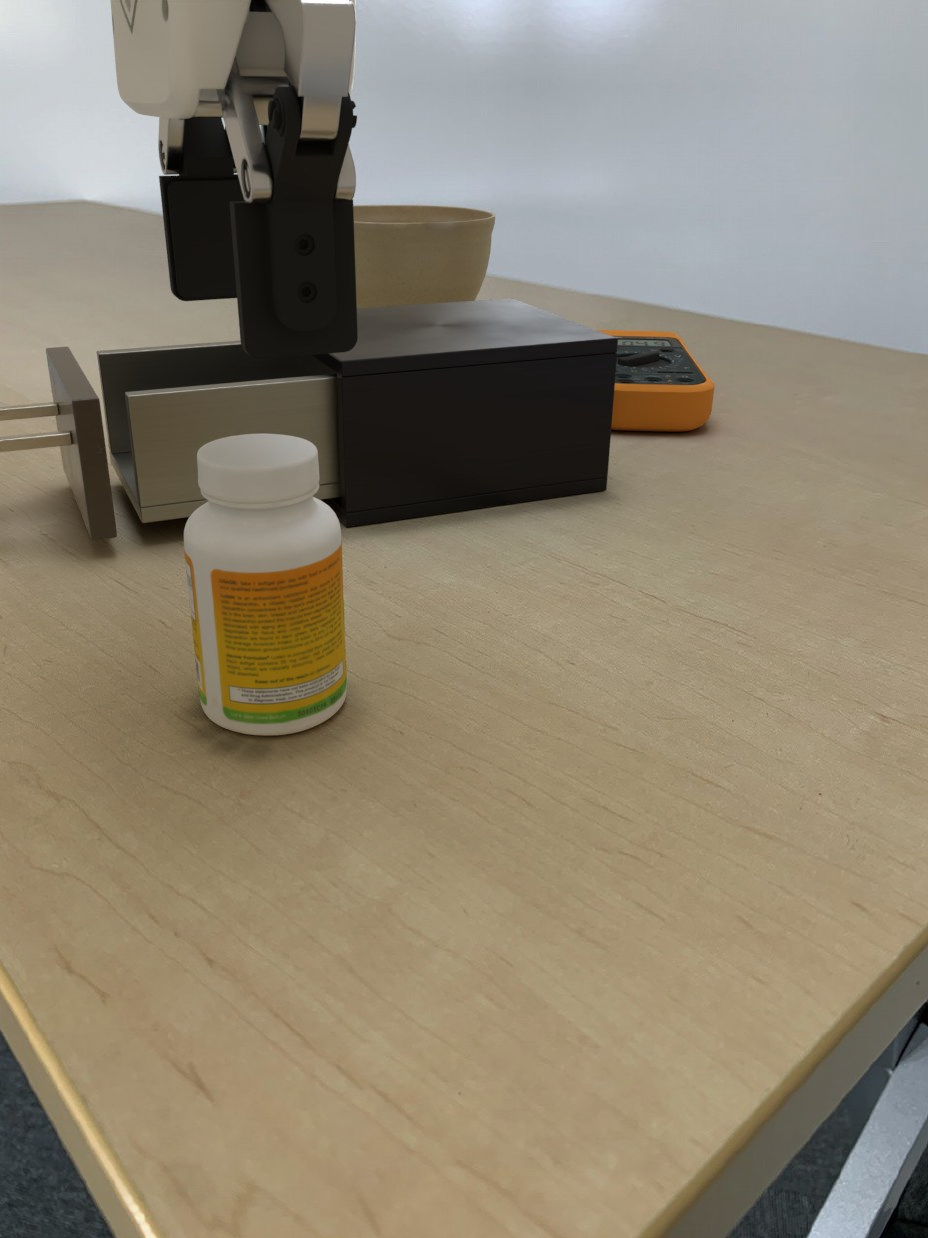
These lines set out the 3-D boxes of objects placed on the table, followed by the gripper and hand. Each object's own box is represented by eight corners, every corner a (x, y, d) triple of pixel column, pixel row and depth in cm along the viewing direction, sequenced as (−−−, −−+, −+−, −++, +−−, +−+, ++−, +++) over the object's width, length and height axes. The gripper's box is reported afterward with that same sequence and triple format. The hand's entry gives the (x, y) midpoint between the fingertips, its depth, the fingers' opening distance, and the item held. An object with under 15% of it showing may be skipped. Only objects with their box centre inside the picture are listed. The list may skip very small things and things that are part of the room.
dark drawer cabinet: (346, 527, 57) (341, 361, 53) (279, 457, 67) (270, 313, 63) (606, 490, 63) (618, 337, 59) (508, 431, 73) (513, 297, 69)
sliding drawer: (-40, 559, 50) (-70, 412, 47) (-49, 482, 59) (-74, 355, 56) (379, 502, 58) (376, 373, 55) (313, 442, 67) (308, 329, 64)
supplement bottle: (377, 700, 41) (372, 449, 37) (263, 758, 37) (243, 487, 33) (284, 653, 44) (269, 417, 40) (170, 702, 41) (141, 448, 36)
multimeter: (585, 434, 73) (589, 382, 71) (568, 369, 89) (571, 326, 87) (715, 437, 72) (722, 385, 71) (675, 372, 89) (679, 328, 87)
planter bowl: (519, 335, 100) (524, 208, 96) (442, 372, 87) (443, 227, 82) (365, 318, 106) (362, 198, 102) (271, 350, 93) (263, 214, 88)
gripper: (14, -304, 33) (93, 288, 40) (95, -597, 19) (194, 398, 26) (260, -271, 36) (292, 276, 43) (492, -504, 22) (480, 370, 29)
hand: (255, 322), depth 35 cm, fingers open, 9 cm apart
